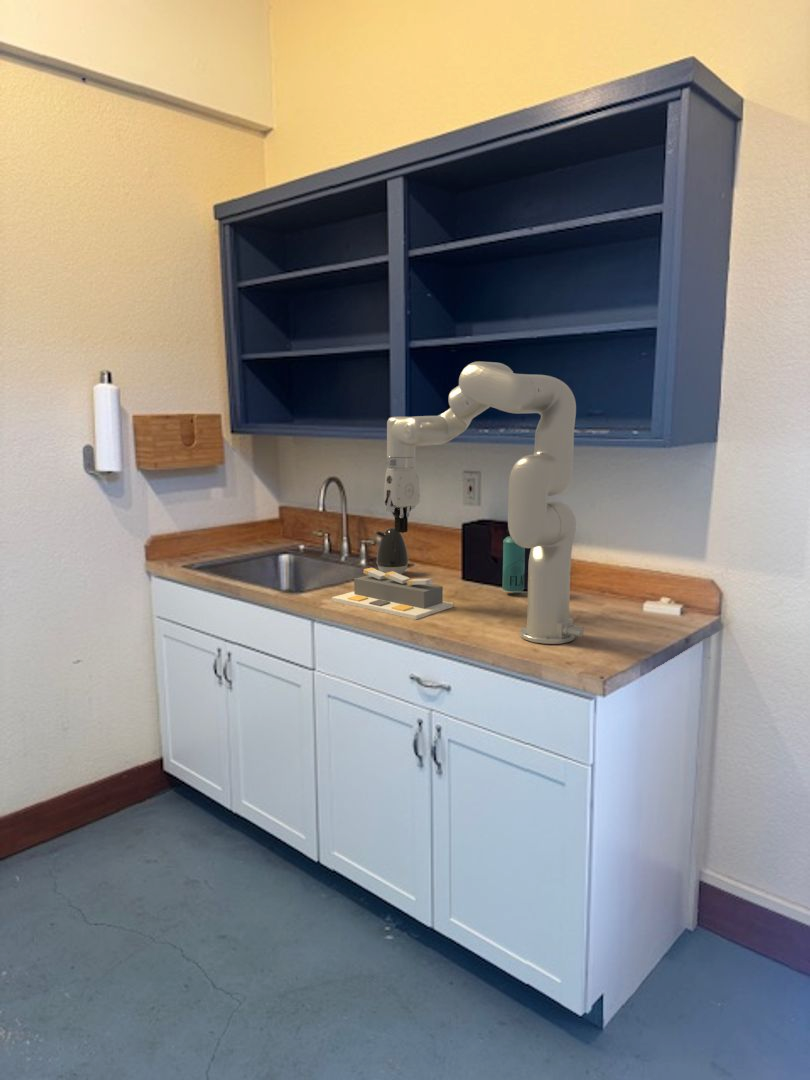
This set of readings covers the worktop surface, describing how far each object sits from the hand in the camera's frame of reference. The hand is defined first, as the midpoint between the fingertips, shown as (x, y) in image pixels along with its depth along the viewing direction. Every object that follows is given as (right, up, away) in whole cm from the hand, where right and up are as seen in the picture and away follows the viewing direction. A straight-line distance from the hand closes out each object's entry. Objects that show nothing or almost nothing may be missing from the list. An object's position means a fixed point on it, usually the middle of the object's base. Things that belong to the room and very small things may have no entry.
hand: (401, 531), depth 204 cm
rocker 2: (+5, -13, -2) cm, 14 cm away
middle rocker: (-1, -12, +3) cm, 13 cm away
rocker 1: (-7, -12, +8) cm, 16 cm away
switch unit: (-3, -20, +2) cm, 20 cm away
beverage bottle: (+32, -18, +12) cm, 39 cm away
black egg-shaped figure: (-3, -14, +39) cm, 41 cm away
